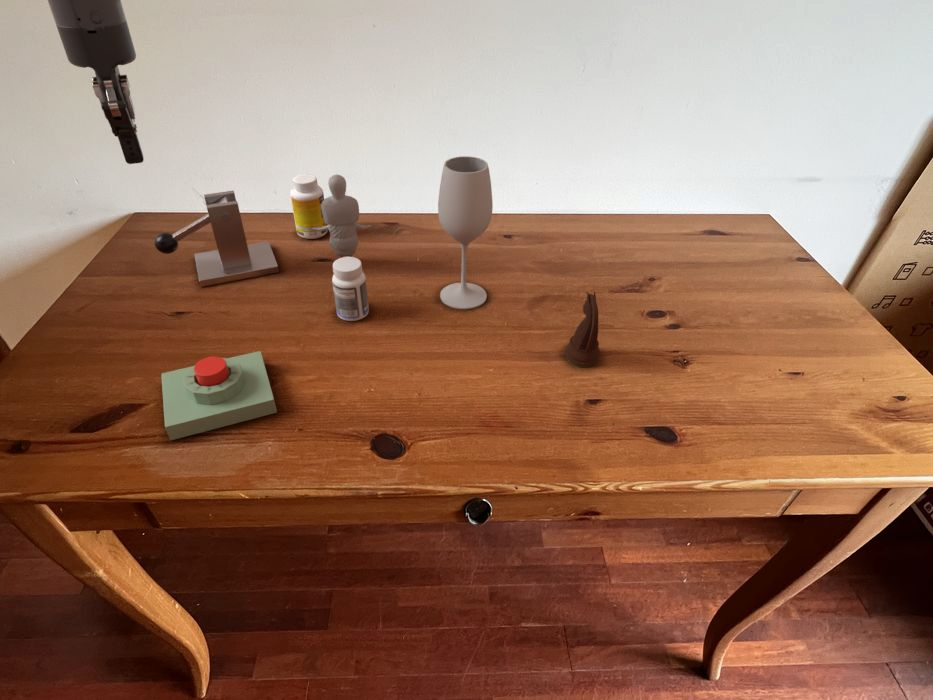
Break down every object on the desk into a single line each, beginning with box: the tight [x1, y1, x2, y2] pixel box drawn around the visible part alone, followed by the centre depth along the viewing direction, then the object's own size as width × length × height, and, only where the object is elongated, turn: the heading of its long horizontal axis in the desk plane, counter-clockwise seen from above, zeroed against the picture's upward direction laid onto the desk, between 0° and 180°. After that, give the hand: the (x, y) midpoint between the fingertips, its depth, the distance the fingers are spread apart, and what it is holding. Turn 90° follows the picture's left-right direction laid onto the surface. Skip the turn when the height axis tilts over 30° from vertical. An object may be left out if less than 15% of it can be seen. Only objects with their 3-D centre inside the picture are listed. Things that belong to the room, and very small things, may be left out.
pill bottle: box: [331, 256, 370, 322], centre depth 87 cm, size 5×5×8 cm
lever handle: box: [154, 197, 230, 255], centre depth 93 cm, size 13×3×3 cm, turn 114°
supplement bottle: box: [289, 173, 329, 240], centre depth 106 cm, size 6×6×10 cm
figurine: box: [312, 174, 373, 258], centre depth 97 cm, size 9×4×15 cm, turn 99°
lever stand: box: [194, 190, 280, 288], centre depth 96 cm, size 12×9×12 cm
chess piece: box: [564, 291, 600, 368], centre depth 79 cm, size 5×5×10 cm
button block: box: [160, 350, 278, 441], centre depth 73 cm, size 12×10×4 cm
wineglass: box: [437, 155, 494, 310], centre depth 87 cm, size 8×8×21 cm
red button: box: [194, 355, 229, 387], centre depth 72 cm, size 4×4×2 cm
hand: (135, 161), depth 83 cm, fingers closed
